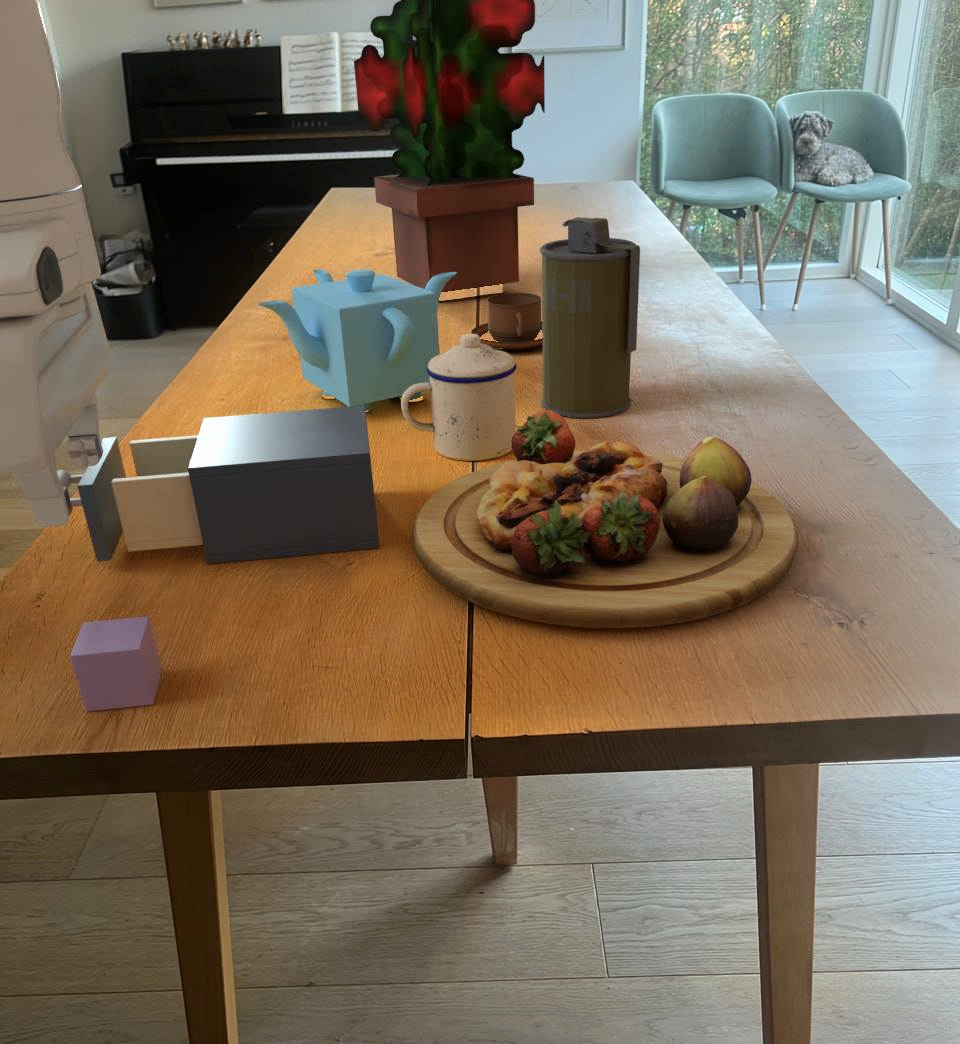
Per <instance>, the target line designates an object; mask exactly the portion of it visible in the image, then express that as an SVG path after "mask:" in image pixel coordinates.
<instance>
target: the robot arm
mask: <svg viewBox="0 0 960 1044" xmlns="http://www.w3.org/2000/svg"><path fill="white" fill-rule="evenodd" d="M61 107H62V94H61V87H60V83H59V78H58V74H57V70H56V66H55V61H54V59H53V53H52V49H51V46H50V41H49V38H48V34H47V31H46V28H45V24H44V19H43V15H42V12H41V8H40V5H39V2H38V0H0V476H9V475H10V476H11V478H12V480H13V481H14V483H15V484H16V485H17V488H19V489H20V492H22V494H23V495H24V496H25V498H26V500H28V502H29V505H30V509H31V512H32V515H33V519H34V522H35V523H36V524H37V526H39V527H41V528H54V527H62V526H65V525H66V524H67V523H68V522H69V519H70V517H71V515H72V512H73V511H74V507H72V504H71V502H70V498H71V495H70V493H69V488H68V489H67V487H62V485H61V482H60V480H59V477H58V475H57V472H56V471H57V470H56V468H57V466H58V461H57V457H56V453H57V451H58V449H59V448H60V446H61V445H62V443H63V442H64V440H65V439H66V440H65V444H66V449H67V452H68V453H69V459H70V460H69V461H70V463H71V464H72V465H73V466H74V467H77V468H83V467H88V466H95V465H96V464H97V463H98V462H99V461H100V459H101V457H102V455H103V448H102V444H101V442H102V440H101V436H100V432H99V431H100V423H99V400H98V395H97V389H98V387H99V386H100V385H101V383H102V381H104V379H105V377H106V375H107V374H108V372H109V371H110V369H111V353H110V347H109V342H108V337H107V334H106V329H105V326H104V323H103V319H102V315H101V312H100V308H99V305H98V301H97V297H96V294H95V291H94V287H93V282H95V281H96V280H97V279H99V278H100V276H101V274H102V270H101V269H102V268H101V265H100V260H99V257H98V251H97V248H96V243H95V239H94V234H93V233H94V232H93V231H92V226H91V225H92V224H91V222H90V217H89V213H88V212H89V211H88V209H87V203H86V200H85V194H84V190H83V186H82V181H81V178H80V175H79V173H78V170H77V169H76V166H75V165H74V162H73V161H72V159H71V157H70V154H69V153H68V150H67V147H66V143H65V140H64V136H63V133H62V123H61V110H62V109H61ZM66 437H67V438H66Z"/></svg>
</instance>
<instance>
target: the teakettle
mask: <svg viewBox="0 0 960 1044" xmlns="http://www.w3.org/2000/svg"><path fill="white" fill-rule="evenodd" d="M312 272H313V275H314V276H315V279H316V280H317V283H314V284H309V285H302V286H296V287H292V288H291V297H292V305H293V306H292V305H291V304H289V302H287V301H284V300H269V301H263V302H259V303H257V305H258V306H261V307H263V308H266V309H269V310H271V311H272V312H274V313H275V314H276V315H277V316H278V317H279V318H280V320H281V321H282V322H283V324H284V326H285V328H286V331H287V333H288V336H289V338H290V341H291V343H292V345H293V347H294V350H295V351H296V352H297V354H298V355H299V357H300V365H301V372H302V379H304V380H305V381H307V382H309V383H310V384H311V385H313V386H315V387H317V388H318V389H320V390H322V391H323V392H322V394H324V395H325V396H332V397H334V398H336V399H335V400H337V401H339V402H341V403H343V405H346V406H345V407H350V406H362V405H365V411H367V410H369V409H370V410H371V403H374V402H378V401H383V400H388V399H389V400H390V399H393V398H398V399H399V398H402V395H403V393H404V392H405V391H406V390H407V389H408V388H409V387H410V386H412V385H414V384H418V383H427V382H430V376H429V375H428V373H427V367H428V364H429V362H430V360H431V359H432V358H434V357H435V356H437V355H439V354H441V353H440V352H441V351H440V338H439V337H440V336H439V335H440V334H439V321H438V308H439V303H440V302H439V297H440V294H441V291H442V289H443V287H444V285H445V284H446V282H447V281H449V280H450V279H451V278H452V277H453V276H454V275H456V274H457V272H448V273H442V274H438V275H435V276H434V277H432V278H431V280H430V281H429V282H428V284H427V286H426V288H425V289H423V288H420V287H417V286H414V285H412V284H410V283H408V282H406V281H404V280H400V279H398V278H395V277H391V276H389V275H386V274H383V273H379V274H376V271H374V270H372V269H364V268H363V269H354V270H349V271H348V272H345V278H346V279H341V280H334V279H333V277H332V275H331V274H330V273H329V271H327V270H325V269H313V270H312ZM421 396H423V394H422V392H418V393H415V394H414V395H413V396H412V397H411V398H410V399H409V400H413V399H417V398H420V397H421Z"/></svg>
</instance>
